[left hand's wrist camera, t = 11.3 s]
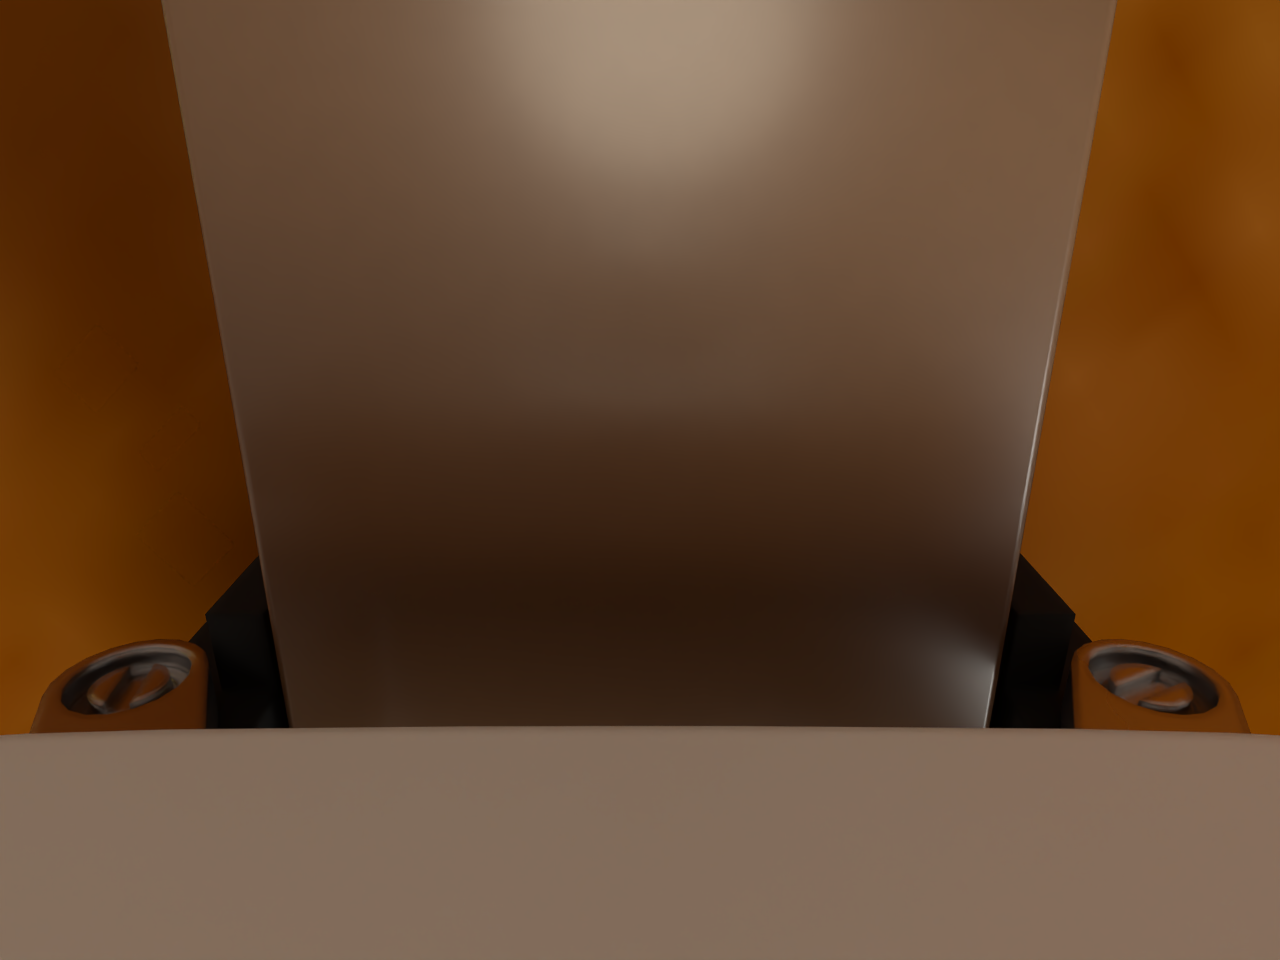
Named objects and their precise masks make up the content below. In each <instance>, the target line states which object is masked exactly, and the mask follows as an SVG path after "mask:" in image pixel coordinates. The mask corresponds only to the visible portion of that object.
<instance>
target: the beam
mask: <svg viewBox="0 0 1280 960" xmlns="http://www.w3.org/2000/svg"><path fill="white" fill-rule="evenodd" d="M161 2H162V8H163V14H164V19H165V25H166V31H167V36H168V42H169V48H170V54H171V59H172V65H173V71H174V76H175V82H176V88H177V93H178V99H179V105H180V110H181V116H182V122H183V127H184V133H185V139H186V144H187V150H188V156H189V161H190V167H191V173H192V178H193V184H194V190H195V196H196V201H197V207H198V213H199V218H200V224H201V230H202V235H203V241H204V247H205V252H206V258H207V264H208V269H209V275H210V281H211V286H212V292H213V298H214V303H215V309H216V315H217V321H218V326H219V332H220V338H221V343H222V349H223V355H224V360H225V366H226V372H227V377H228V383H229V389H230V394H231V400H232V406H233V411H234V417H235V423H236V428H237V434H238V440H239V445H240V451H241V457H242V463H243V468H244V474H245V480H246V485H247V491H248V497H249V502H250V508H251V514H252V519H253V525H254V531H255V536H256V542H257V548H258V553H259V559H260V565H261V570H262V576H263V582H264V588H265V593H266V599H267V605H268V610H269V616H270V622H271V627H272V633H273V639H274V644H275V650H276V656H277V661H278V667H279V673H280V678H281V684H282V690H283V695H284V701H285V707H286V712H287V718H288V724H289V728H360V727H455V726H789V727H909V728H989V725H990V720H991V714H992V708H993V703H994V697H995V691H996V686H997V680H998V674H999V669H1000V663H1001V657H1002V652H1003V646H1004V640H1005V635H1006V629H1007V623H1008V618H1009V612H1010V606H1011V601H1012V595H1013V589H1014V584H1015V578H1016V572H1017V567H1018V561H1019V555H1020V549H1021V544H1022V538H1023V532H1024V527H1025V521H1026V515H1027V510H1028V504H1029V498H1030V493H1031V487H1032V481H1033V476H1034V470H1035V464H1036V459H1037V453H1038V447H1039V442H1040V436H1041V430H1042V425H1043V419H1044V413H1045V408H1046V402H1047V396H1048V391H1049V385H1050V379H1051V373H1052V368H1053V362H1054V356H1055V351H1056V345H1057V339H1058V334H1059V328H1060V322H1061V317H1062V311H1063V305H1064V300H1065V294H1066V288H1067V283H1068V277H1069V271H1070V266H1071V260H1072V254H1073V249H1074V243H1075V237H1076V232H1077V226H1078V220H1079V215H1080V209H1081V203H1082V197H1083V192H1084V186H1085V180H1086V175H1087V169H1088V163H1089V158H1090V152H1091V146H1092V141H1093V135H1094V129H1095V124H1096V118H1097V112H1098V107H1099V101H1100V95H1101V90H1102V84H1103V78H1104V73H1105V67H1106V61H1107V56H1108V50H1109V44H1110V39H1111V33H1112V27H1113V22H1114V16H1115V10H1116V4H1117V0H161Z"/></svg>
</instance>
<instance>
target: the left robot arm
mask: <svg viewBox="0 0 1280 960" xmlns="http://www.w3.org/2000/svg"><path fill="white" fill-rule="evenodd" d="M205 615H206V620H207V622H206V623H205V624H204V625H203V626H202V627H201V628H200V630H199V631H198V632H197V633H196V634H195V635H194V636H193V637H192V639H191V640H190V641H189V642H186V641H182V640H171V639H155V640H147V641H140V642H133V643H130V644H126V645H122V646H118V647H114V648H111V649H108V650H106V651H103V652H101V653H98V654H96V655H93V656H91V657H88V658H86V659H84V660H82V661H81V662H79V663H77V664H75V665H74V666H72V667H70V668H68V669H67V670H65V671H64V672H63V673H62V674H61V675H60V676H58V677H57V678H56V679H55V680H54V681H53V682H51V683H50V685H49V687H48V688H47V690H46V691H45V693H44V694H43V696H42V698H41V701H40V704H39V707H38V710H37V713H36V716H35V719H34V721H33V724H32V727H31V730H30V733H29V734H16V735H2V736H0V960H1280V736H1277V735H1260V734H1251V733H1250V730H1249V727H1248V724H1247V721H1246V719H1245V716H1244V713H1243V710H1242V707H1241V704H1240V701H1239V698H1238V696H1237V694H1236V693H1235V691H1234V690H1233V688H1232V687H1231V685H1230V683H1229V682H1227V681H1226V680H1225V679H1224V678H1223V677H1222V676H1220V675H1219V674H1218V673H1217V672H1216V671H1215V670H1213V669H1212V668H1210V667H1208V666H1206V665H1205V664H1203V663H1201V662H1199V661H1198V660H1196V659H1194V658H1192V657H1189V656H1187V655H1184V654H1182V653H1179V652H1177V651H1174V650H1172V649H1169V648H1166V647H1162V646H1158V645H1154V644H1150V643H1147V642H1140V641H1133V640H1125V639H1109V640H1098V641H1094V642H1092V641H1091V640H1090V639H1089V638H1088V637H1087V635H1086V634H1085V633H1084V632H1083V631H1082V630H1081V629H1080V628H1079V626H1078V625H1077V624H1076V623H1075V622H1074V619H1075V615H1076V614H1075V613H1074V612H1073V611H1072V610H1071V609H1070V608H1069V607H1068V605H1067V604H1066V603H1065V602H1064V601H1063V600H1062V599H1061V598H1060V597H1059V596H1058V594H1057V593H1056V592H1055V591H1054V590H1053V589H1052V588H1051V587H1050V586H1049V584H1048V583H1047V582H1046V581H1045V580H1044V579H1043V578H1042V577H1041V576H1040V575H1039V573H1038V572H1037V571H1036V570H1035V569H1034V568H1033V567H1032V566H1031V565H1030V564H1029V562H1028V561H1027V560H1026V559H1025V558H1024V557H1023V556H1022V555H1021V554H1020V555H1019V561H1018V567H1017V572H1016V578H1015V584H1014V589H1013V595H1012V601H1011V606H1010V612H1009V618H1008V623H1007V629H1006V635H1005V640H1004V646H1003V652H1002V657H1001V663H1000V669H999V674H998V680H997V686H996V691H995V697H994V703H993V708H992V714H991V720H990V725H989V728H909V727H789V726H455V727H360V728H289V724H288V718H287V712H286V707H285V701H284V695H283V690H282V684H281V678H280V673H279V667H278V661H277V656H276V650H275V644H274V639H273V633H272V627H271V622H270V616H269V610H268V605H267V599H266V593H265V588H264V582H263V576H262V570H261V565H260V559H259V556H258V557H257V558H256V559H255V560H254V561H253V562H252V563H251V564H250V566H249V567H248V568H247V569H246V570H245V571H244V572H243V573H242V574H241V576H240V577H239V578H238V579H237V580H236V581H235V582H234V583H233V584H232V585H231V587H230V588H229V589H228V590H227V591H226V592H225V593H224V594H223V595H222V596H221V598H220V599H219V600H218V601H217V602H216V603H215V604H214V605H213V606H212V608H211V609H210V610H209V611H208V612H207V613H206V614H205Z"/></svg>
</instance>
